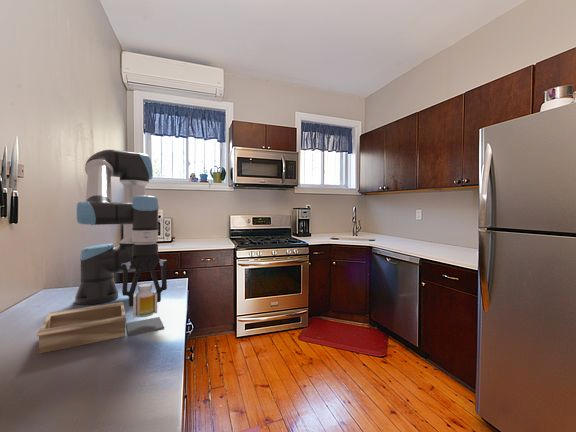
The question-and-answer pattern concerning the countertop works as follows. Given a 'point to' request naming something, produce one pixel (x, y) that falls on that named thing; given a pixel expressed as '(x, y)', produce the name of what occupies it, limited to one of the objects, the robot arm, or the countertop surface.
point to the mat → (144, 326)
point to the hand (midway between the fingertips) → (145, 313)
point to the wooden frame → (81, 326)
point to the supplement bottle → (144, 301)
